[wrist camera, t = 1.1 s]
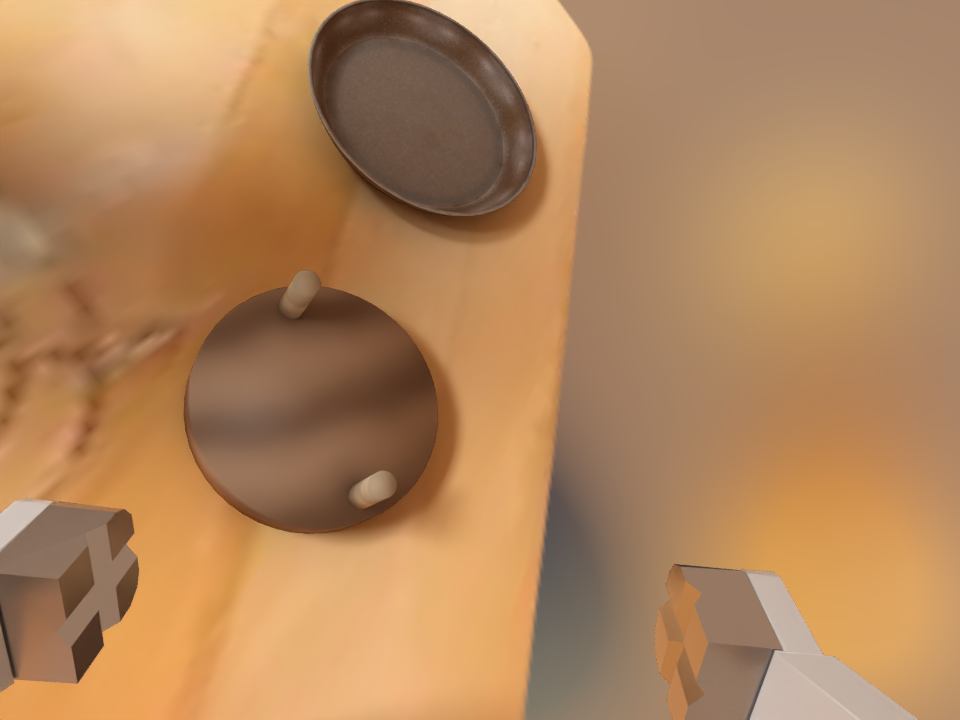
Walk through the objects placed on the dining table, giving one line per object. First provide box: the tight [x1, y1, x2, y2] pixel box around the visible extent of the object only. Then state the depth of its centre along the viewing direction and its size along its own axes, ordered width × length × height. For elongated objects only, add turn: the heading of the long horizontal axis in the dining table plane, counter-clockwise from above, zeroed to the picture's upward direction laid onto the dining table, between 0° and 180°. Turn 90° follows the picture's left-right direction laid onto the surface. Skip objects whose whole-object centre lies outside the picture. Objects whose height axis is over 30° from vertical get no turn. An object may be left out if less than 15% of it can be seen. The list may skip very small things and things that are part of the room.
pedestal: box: [184, 270, 438, 533], centre depth 43 cm, size 16×16×6 cm
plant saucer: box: [308, 0, 537, 216], centre depth 58 cm, size 21×21×3 cm
